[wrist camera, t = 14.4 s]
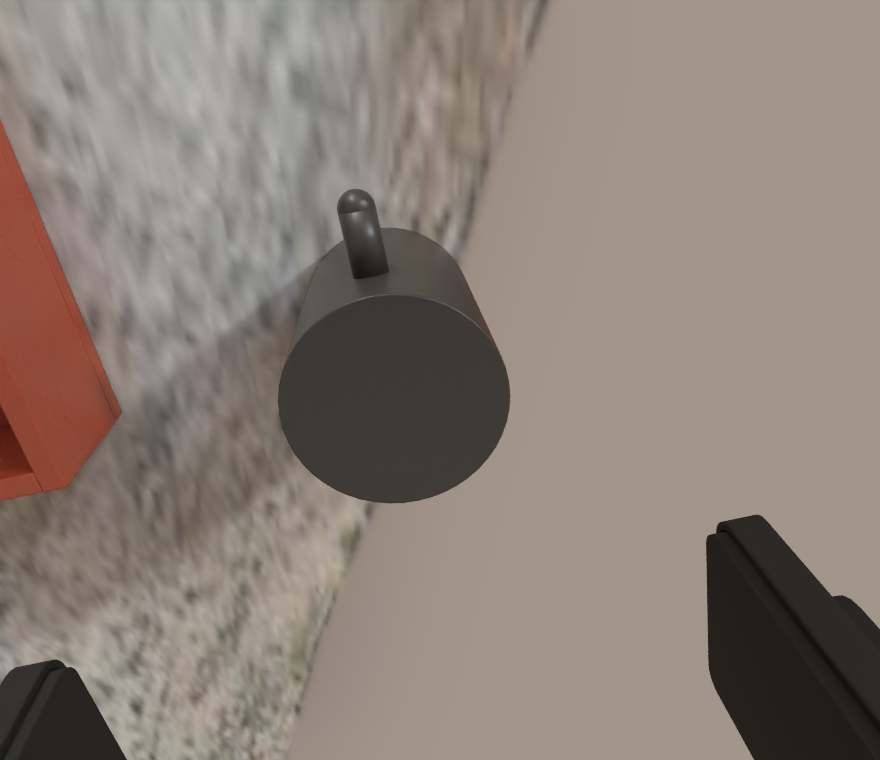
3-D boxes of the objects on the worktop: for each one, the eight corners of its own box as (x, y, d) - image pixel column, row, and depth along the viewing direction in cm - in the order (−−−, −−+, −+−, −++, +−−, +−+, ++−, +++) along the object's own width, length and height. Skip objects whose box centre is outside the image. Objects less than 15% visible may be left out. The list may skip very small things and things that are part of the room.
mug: (481, 367, 29) (524, 479, 21) (328, 398, 29) (311, 522, 21) (444, 146, 26) (478, 178, 18) (269, 181, 26) (220, 229, 17)
